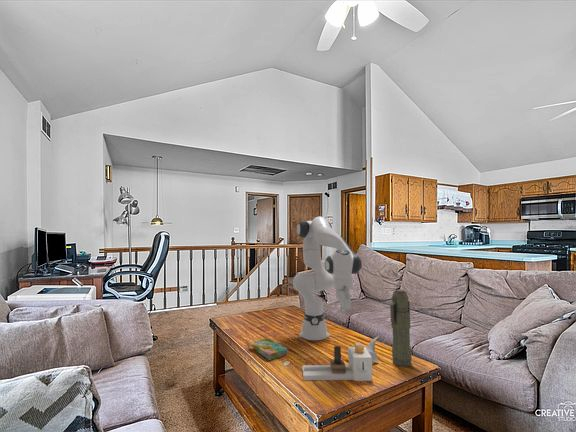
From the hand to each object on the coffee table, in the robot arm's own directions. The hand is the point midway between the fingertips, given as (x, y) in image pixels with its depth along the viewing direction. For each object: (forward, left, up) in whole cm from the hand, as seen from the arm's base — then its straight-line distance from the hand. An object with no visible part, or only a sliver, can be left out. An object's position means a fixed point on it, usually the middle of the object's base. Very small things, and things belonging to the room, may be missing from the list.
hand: (343, 313), depth 146 cm
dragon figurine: (-12, +12, -27) cm, 31 cm away
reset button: (+6, +6, -16) cm, 18 cm away
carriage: (+6, -4, -24) cm, 25 cm away
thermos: (-5, +29, -26) cm, 40 cm away
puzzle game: (-20, -38, -27) cm, 50 cm away
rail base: (+6, -5, -26) cm, 27 cm away
